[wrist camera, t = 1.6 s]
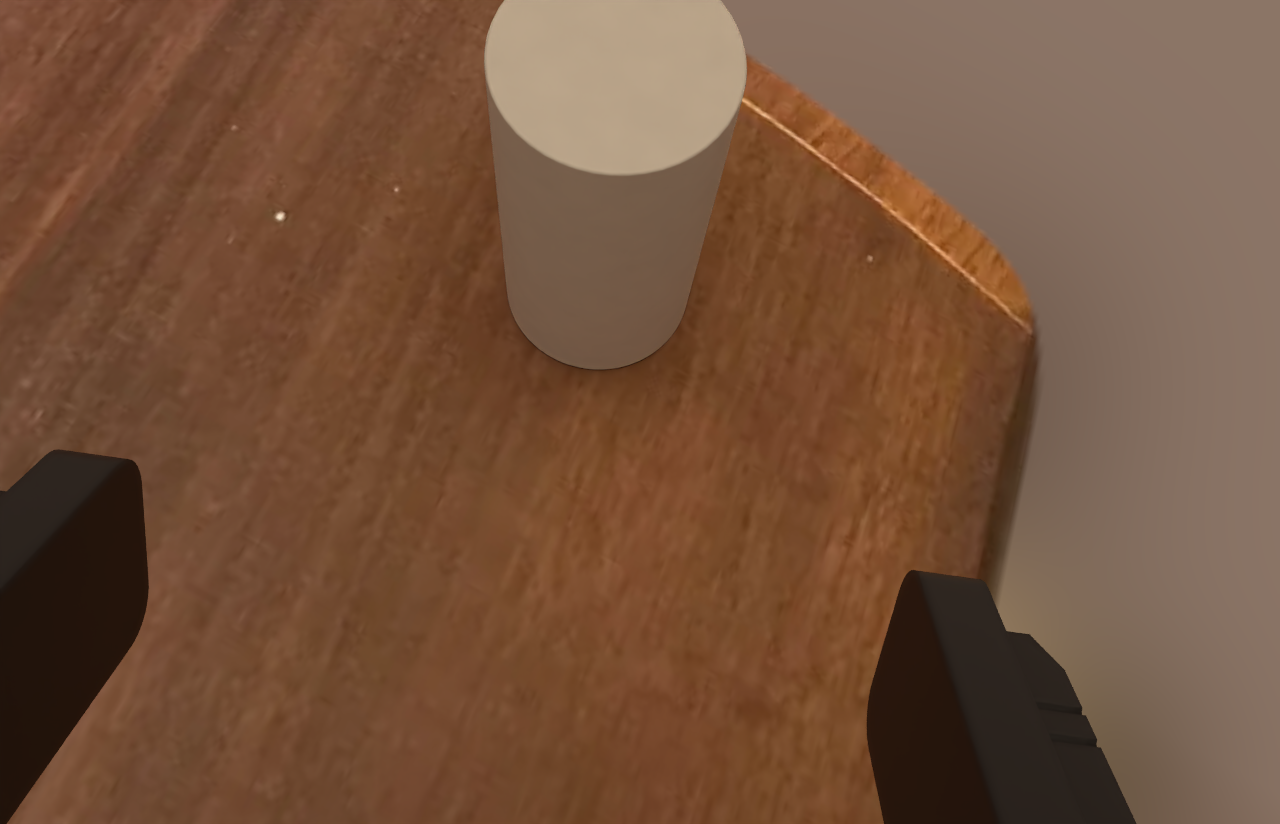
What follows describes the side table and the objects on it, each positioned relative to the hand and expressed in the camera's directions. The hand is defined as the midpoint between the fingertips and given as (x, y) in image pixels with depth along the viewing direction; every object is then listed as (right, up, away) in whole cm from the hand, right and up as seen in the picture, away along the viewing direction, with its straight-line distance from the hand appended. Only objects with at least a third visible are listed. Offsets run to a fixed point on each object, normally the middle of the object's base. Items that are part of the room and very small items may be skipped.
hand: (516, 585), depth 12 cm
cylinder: (0, +5, +15) cm, 16 cm away
